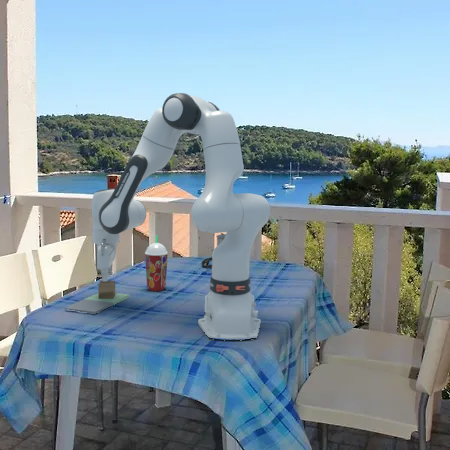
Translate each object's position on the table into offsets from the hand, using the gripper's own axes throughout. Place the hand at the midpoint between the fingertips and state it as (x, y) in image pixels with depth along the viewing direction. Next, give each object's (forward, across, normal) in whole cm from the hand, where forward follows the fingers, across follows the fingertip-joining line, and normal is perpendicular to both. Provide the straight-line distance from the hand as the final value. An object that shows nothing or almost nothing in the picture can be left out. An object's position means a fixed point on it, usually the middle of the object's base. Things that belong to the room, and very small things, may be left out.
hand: (107, 277), depth 194 cm
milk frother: (+8, +48, -41) cm, 64 cm away
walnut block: (+7, +1, 0) cm, 7 cm away
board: (+8, -4, +2) cm, 9 cm away
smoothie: (+8, +15, -16) cm, 23 cm away
